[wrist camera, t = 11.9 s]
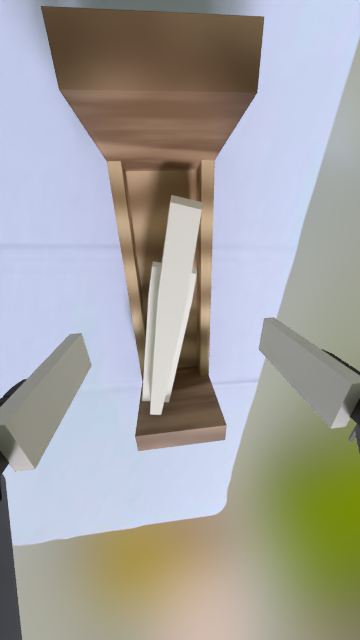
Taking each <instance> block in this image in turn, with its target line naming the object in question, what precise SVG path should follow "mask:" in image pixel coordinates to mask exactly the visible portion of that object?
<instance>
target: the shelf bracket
mask: <svg viewBox="0 0 360 640" xmlns="http://www.w3.org/2000/svg"><path fill="white" fill-rule="evenodd" d="M201 212H202V202H199V201H195V200H190V199H186V198H182V197H178V196H174V195H171V200H170V206H169V212H168V218H167V226H166V234H165V241H164V248H163V256H162V263H159V262H154V261H153V264H152V271H151V279H150V287H149V296H148V313H147V329H146V345H145V361H144V378H143V394H142V401H151V404H150V414H152V415H161V413H162V409H163V405H164V402H169V400H170V396H171V391H172V387H173V383H174V378H175V374H176V369H177V365H178V361H179V356H180V352H181V347H182V343H183V339H184V334H185V330H186V326H187V321H188V317H189V312H190V308H191V304H192V299H193V293H194V287H195V281H196V275H197V271H196V269H193V268H192V267H193V261H194V255H195V249H196V243H197V236H198V230H199V224H200V218H201Z"/></svg>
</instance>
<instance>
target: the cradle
mask: <svg viewBox="0 0 360 640" xmlns="http://www.w3.org/2000/svg"><path fill="white" fill-rule="evenodd" d="M41 9H42V13H43V18H44V23H45V27H46V32H47V36H48V41H49V45H50V50H51V54H52V59H53V64H54V68H55V73H56V77H57V82H58V86H59V90H60V92H61V93H62V95H63V96H64V98H65V99H66V101H67V102H68V104H69V105H70V107H71V108H72V110H73V111H74V113H75V114H76V116H77V117H78V119H79V120H80V122H81V123H82V125H83V126H84V128H85V129H86V131H87V132H88V134H89V135H90V137H91V138H92V140H93V141H94V143H95V144H96V146H97V147H98V149H99V150H100V152H101V153H102V155H103V156H104V158H105V159H106V161H107V166H108V172H109V178H110V184H111V191H112V197H113V203H114V209H115V215H116V221H117V227H118V234H119V240H120V246H121V252H122V258H123V264H124V270H125V277H126V283H127V289H128V295H129V301H130V307H131V313H132V320H133V326H134V332H135V338H136V344H137V350H138V356H139V363H140V369H141V375H142V381H143V378H144V361H145V345H146V329H147V313H148V296H149V287H150V279H151V271H152V264H153V261H154V262H159V263H162V256H163V248H164V241H165V234H166V226H167V218H168V212H169V206H170V200H171V195H174V196H178V197H182V198H186V199H190V200H195V201H199V202H202V212H201V218H200V224H199V230H198V236H197V243H196V249H195V255H194V261H193V267H192V268H193V269H196V271H197V275H196V281H195V287H194V293H193V299H192V304H191V308H190V312H189V317H188V321H187V326H186V330H185V334H184V339H183V343H182V347H181V352H180V356H179V361H178V365H177V369H176V374H175V378H174V383H173V387H172V391H171V396H170V400H169V402H164V405H163V409H162V413H161V415H152V414H150V404H151V401H142V394H143V383H142V390H141V398H140V405H139V412H138V420H137V427H136V434H135V438H136V442H137V447H138V451H142V450H150V449H158V448H165V447H173V446H181V445H189V444H197V443H204V442H212V441H220V440H225V436H226V423H225V420H224V417H223V414H222V411H221V409H220V406H219V403H218V400H217V398H216V395H215V392H214V389H213V386H212V384H211V381H210V378H209V341H210V306H211V270H212V235H213V199H214V164H215V159H216V157H217V155H218V154H219V152H220V151H221V149H222V147H223V146H224V144H225V143H226V141H227V140H228V138H229V136H230V135H231V133H232V132H233V130H234V129H235V127H236V125H237V124H238V122H239V121H240V119H241V117H242V116H243V114H244V113H245V111H246V110H247V108H248V106H249V105H250V103H251V102H252V100H253V99H254V97H255V95H256V94H257V90H258V79H259V68H260V57H261V46H262V36H263V25H264V17H261V16H240V15H219V14H198V13H176V12H155V11H134V10H113V9H92V8H71V7H50V6H41Z"/></svg>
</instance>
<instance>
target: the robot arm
mask: <svg viewBox="0 0 360 640" xmlns="http://www.w3.org/2000/svg"><path fill="white" fill-rule="evenodd" d="M259 350H260V351H261V352H262V353H263V355H264V356H265V357H266V358H267V359H268V360H269V361H270V362H271V363H272V364H273V365H274V367H275V368H276V369H277V370H278V371H279V372H280V373H281V374H282V375H283V377H284V378H285V379H286V380H287V381H288V382H289V383H290V384H291V385H292V387H293V388H294V389H295V390H296V391H297V392H298V393H299V394H300V395H301V396H302V398H303V399H304V400H305V401H306V402H307V403H308V404H309V405H310V406H311V407H312V408H313V410H314V411H315V412H316V413H317V414H318V415H319V416H320V417H321V419H322V420H323V421H324V422H325V423H326V424H327V425H328V426H329V427H330V428H338V427H345V426H346V425H347V423H348V421H349V419H350V417H351V418H352V419H353V420H354V421H355V422H356V423H357V425H356V426H355V428H354V430H353V432H352V433H351V435H350V438H349V441H351V442H352V441H353V440H354V438H355V437H357V444H358V447H359V452H360V372H359V371H358V370H356V369H355V368H353V367H352V366H349V364H347V363H346V362H344V361H342V360H341V359H340V358H338V357H337V356H335V355H334V354H332V353H329V352H327V351H325V350H322V349H320V348H318V347H317V346H315V345H314V344H312V343H311V342H309V341H308V340H306V339H305V338H304V337H302V336H301V335H299V334H298V333H296V332H295V331H293V330H292V329H290V328H289V327H287V326H286V325H284V324H283V323H281V322H280V321H278V320H277V319H275V318H264V322H263V328H262V334H261V339H260V345H259ZM90 367H91V362H90V359H89V356H88V353H87V349H86V346H85V343H84V340H83V336H82V333H79V334H70V335H69V336H68V337H67V338H66V339H65V340H64V341H63V342H62V343H61V344H60V345H59V346H58V347H57V348H56V349H55V350H54V351H53V353H52V354H51V355H50V356H49V357H48V358H47V359H46V360H45V361H44V362H43V363H42V364H41V365H40V366H39V367H38V368H37V369H36V370H35V371H34V372H33V373H32V375H31V376H30V377H29V378H28V379H24V380H22V381H21V382H19V383H18V384H16V385H15V386H13V387H12V388H11V389H10V390H9V391H8V392H7V393H6V394H5V395H4V396H3V398H1V399H0V640H22V635H21V627H20V626H21V625H20V616H19V606H18V597H17V587H16V578H15V568H14V559H13V548H12V539H11V529H10V520H9V510H8V500H7V491H6V481H5V478H4V476H3V474H2V473H3V471H4V470H5V468H6V467H7V465H8V464H10V466H11V467H12V468H13V470H14V471H15V472H17V471H24V470H32V469H35V468H36V466H37V465H38V463H39V461H40V459H41V457H42V455H43V454H44V452H45V450H46V448H47V446H48V444H49V443H50V441H51V439H52V437H53V435H54V433H55V431H56V430H57V428H58V426H59V424H60V422H61V420H62V419H63V417H64V415H65V413H66V411H67V409H68V408H69V406H70V404H71V402H72V400H73V398H74V397H75V395H76V393H77V391H78V389H79V387H80V386H81V384H82V382H83V380H84V378H85V376H86V375H87V373H88V371H89V369H90Z"/></svg>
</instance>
